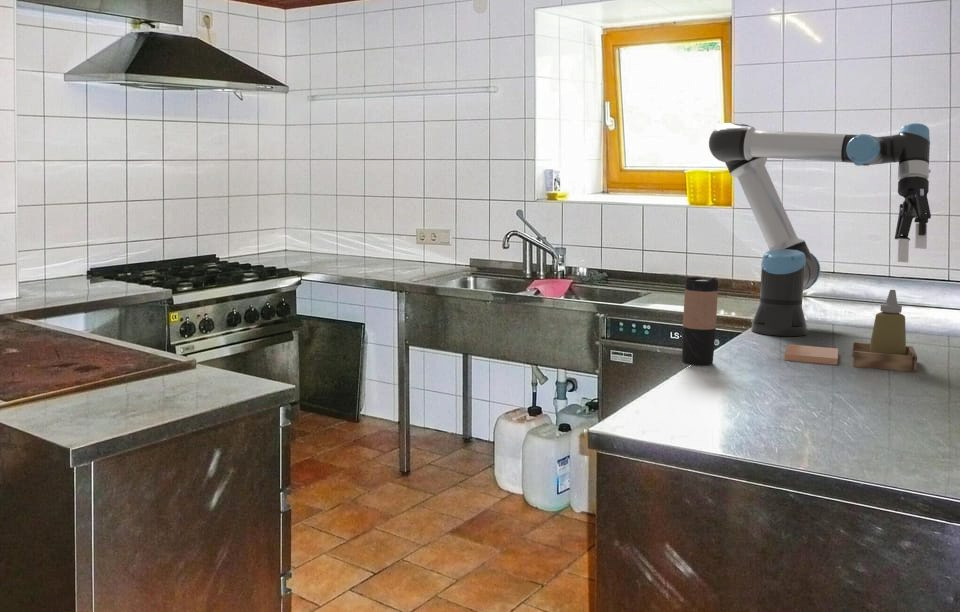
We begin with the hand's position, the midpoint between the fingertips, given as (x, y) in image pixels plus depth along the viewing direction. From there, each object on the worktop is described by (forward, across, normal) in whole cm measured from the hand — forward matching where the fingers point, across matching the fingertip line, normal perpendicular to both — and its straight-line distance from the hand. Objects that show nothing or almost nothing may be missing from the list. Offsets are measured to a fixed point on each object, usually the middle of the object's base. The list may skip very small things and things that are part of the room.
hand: (911, 255), depth 239 cm
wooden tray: (+33, -18, +12) cm, 39 cm away
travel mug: (+39, -26, +56) cm, 73 cm away
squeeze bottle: (+34, -18, +11) cm, 39 cm away
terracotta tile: (+33, -14, +27) cm, 45 cm away
